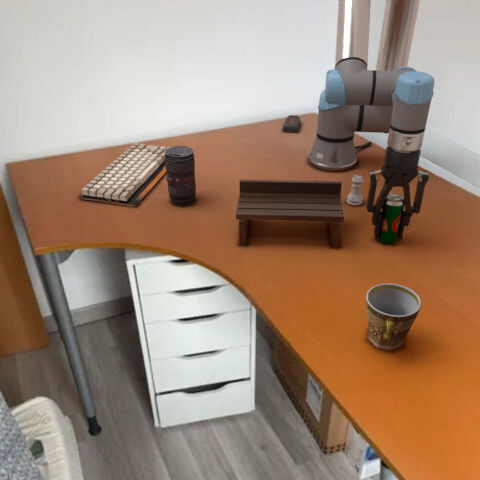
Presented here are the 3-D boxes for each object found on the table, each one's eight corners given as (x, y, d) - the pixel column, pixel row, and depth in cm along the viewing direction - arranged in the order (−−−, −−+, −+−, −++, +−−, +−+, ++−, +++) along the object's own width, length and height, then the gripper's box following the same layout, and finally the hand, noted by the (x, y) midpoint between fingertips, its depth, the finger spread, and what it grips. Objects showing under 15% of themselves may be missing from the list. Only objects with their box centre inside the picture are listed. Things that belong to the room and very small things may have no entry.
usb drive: (283, 131, 191) (283, 124, 190) (287, 120, 201) (287, 113, 199) (297, 132, 191) (297, 125, 189) (300, 121, 200) (301, 113, 198)
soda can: (374, 235, 134) (381, 192, 127) (393, 234, 135) (401, 191, 127) (380, 246, 130) (387, 202, 123) (399, 244, 131) (408, 201, 123)
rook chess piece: (364, 200, 149) (367, 174, 144) (360, 207, 146) (363, 181, 141) (348, 197, 151) (352, 171, 146) (344, 204, 147) (347, 178, 143)
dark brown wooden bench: (240, 217, 143) (240, 178, 136) (337, 219, 141) (341, 180, 134) (236, 245, 132) (235, 204, 125) (340, 248, 130) (345, 206, 123)
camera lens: (193, 208, 147) (189, 157, 138) (165, 205, 149) (159, 155, 139) (200, 195, 153) (197, 145, 144) (174, 192, 155) (169, 144, 146)
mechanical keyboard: (136, 207, 148) (134, 196, 146) (76, 200, 153) (74, 189, 151) (183, 155, 177) (182, 145, 175) (132, 150, 181) (130, 140, 179)
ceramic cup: (362, 318, 109) (369, 279, 103) (412, 326, 106) (422, 287, 100) (355, 361, 99) (361, 321, 93) (409, 372, 97) (420, 331, 91)
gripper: (364, 153, 115) (352, 243, 129) (449, 154, 114) (427, 245, 128) (361, 140, 121) (349, 227, 135) (441, 141, 120) (421, 229, 134)
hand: (387, 235), depth 132 cm, fingers closed on soda can, 5 cm apart
